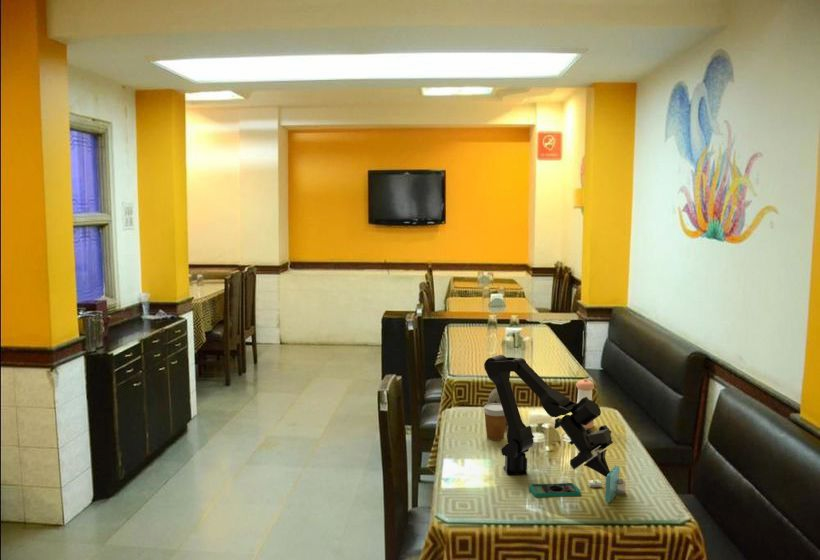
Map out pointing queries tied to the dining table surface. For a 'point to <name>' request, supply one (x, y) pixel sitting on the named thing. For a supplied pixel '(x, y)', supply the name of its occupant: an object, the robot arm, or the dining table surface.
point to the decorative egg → (494, 398)
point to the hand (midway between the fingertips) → (609, 476)
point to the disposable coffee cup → (494, 421)
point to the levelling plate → (595, 483)
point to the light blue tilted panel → (614, 484)
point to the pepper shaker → (585, 394)
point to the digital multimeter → (554, 490)
